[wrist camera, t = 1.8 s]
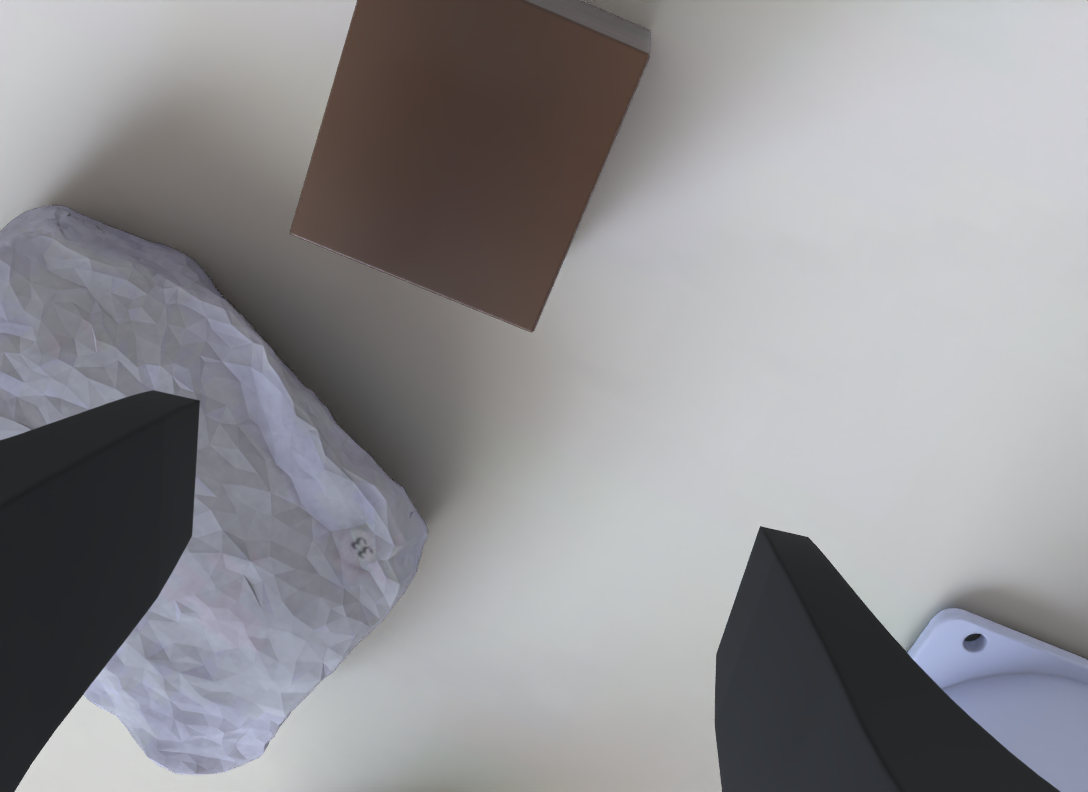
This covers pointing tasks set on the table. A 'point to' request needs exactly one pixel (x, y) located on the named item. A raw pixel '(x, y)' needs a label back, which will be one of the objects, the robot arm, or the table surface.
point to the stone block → (207, 488)
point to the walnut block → (469, 143)
